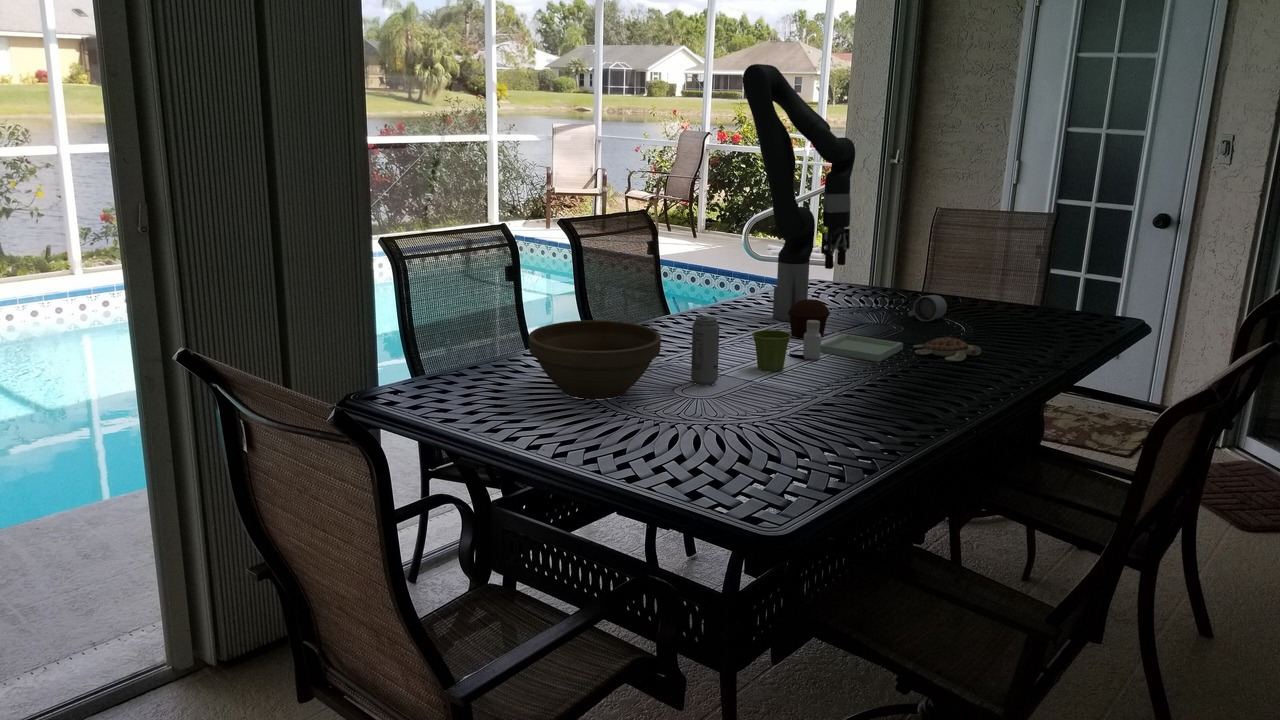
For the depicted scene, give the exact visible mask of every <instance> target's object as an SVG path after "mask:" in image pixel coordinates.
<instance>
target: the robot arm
mask: <svg viewBox="0 0 1280 720" xmlns="http://www.w3.org/2000/svg"><path fill="white" fill-rule="evenodd" d="M742 88H743V91H744V94H745V97H746V100H747V103H748V106H749V109H750V112H751V115H752V118H753V122H754V127H755V131H756V135H757V140H758V144H759V149H760V153H761V159H762V163H763V166H764V170H765V173H766V178H767V183H768V184H767V185H768V187H769V192H770V197H771V204H772V211H773V220H774V225H775V229H776V232H777V233H778V235H779V236H780V237H781V238H782V239H783V240H784V244H783V247H782V248H781V250H779V252H778V256H777V275H776V278H777V279H776V286H773V302H772V306H773V307H772V319H775V320H778V321H782V322H790V315H788V311H789V310H790V308H791V307H792V306H793V304H795V303H796V302H798V301H800V300H805V299H809V298H808V297H809V295H808V294H809V280H810V279H809V278H810V277H809V276H810V259H811V255H812V253H813V249H814V239H815V233H816V231H815V230H816V222H815V221H816V220H815V216H814V214H813V212H812V211H811V210H810V209H809V208H807V207H805V206H799V205H798V202H797V197H796V195H795V188H794V185H795V184H794V183H795V182H794V181H795V172H796V156H795V151H794V145H793V142H792V139H791V135H790V133H789V131H788V130H787V128H786V126H785V124H784V123H783V121H782V120H781V118H780V117H779V114H778V113H777V111H776V108H775V104H776V105H778V106H779V108H781V109H782V110H783V111H784V112H785V114H786V116H787V117H788V119H789V122H790V123H791V125H793V126H794V128H795V129H796V131H798V132H799V133H800V134H801V135H802V136H803V137H804V138H806V140H807V141H808V142H810V143H811V144H812V146H813V148H814V149H815V151H816V152H817V153H818V155H819V156H820V157H821V158H822V160H824V161H826V162H827V163H829V164H831V167H830V171H829V172H828V173H827V174H826V176H825V177H824V196H823V197H824V198H823V204H822V205H823V211H822V212H823V213H822V226H823V227H824V228H826V229H827V232H824V231H823V232H822V233H821V248H820V249H821V250H820V251H821V252H820V253H821V254H822V255H824V268H825V269H827V270H832V269H833V268H834V254H835V251H837V259H836V260H837V263H836V264H837V265H838V266H845V265H846V255H847V252H848V250H849V249H850V248H851V247H850V245H851V244H850V241H851V240H850V237H851V236H850V234H851V233H850V228H848V227H850V225H851V202H852V201H851V176H852V173H853V170H854V169H853V168H854V163H855V158H856V147H855V145H854V142H853V141H852V140H851V139H850V138H848V137H837V136H836V134H834V133H833V132H832V130H831V126H830V124H829V122H827V120H825V118H823V117H822V116H821V115H820V114H819V113H817V112H816V111H815V110H814V109H813V108H812V107H811V106H810V105H809V104H808V103H807V102H806V101H805V100H804V99H803V98H802V97H801V96H800V95H799V94H798V92H797V91H796V90H795V89H794V88H793V86H791V84H790V83H789V82H788V80H787V78H786V77H785V76H784V75H783V74H782V72H781V71H780V70H779V69H778V68H777V67H776V66H774V65H771V64H761V63H755V64H754V63H753V64H751V65H749V66H747V68H745V70H744V72H743V75H742ZM774 103H775V104H774Z"/></svg>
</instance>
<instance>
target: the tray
mask: <svg viewBox="0 0 1280 720" xmlns="http://www.w3.org/2000/svg"><path fill="white" fill-rule="evenodd" d="M903 349H904V342H900V341H893V340H887V339H878V338H872V337H866V336H859V335H854V334H853V335H852V334H848V333H847V334H844V335H842V336H839V337H837V338H834V339H832V340H830V341H827V342H824V343H823V344H822V343H821V348H820V353H823V354H830V355H835V354H836V356H841V355H842V356H841V357H847V356H849V357H848V358H853V357H854V358H853V359H860V360H866V361H871V362H878V363H879V362H881V361H883V360H886V359H887V358H889V357H891V356H893V355H895V354H897V353H900V352H901V351H903ZM900 350H901V351H900Z"/></svg>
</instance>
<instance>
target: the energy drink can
mask: <svg viewBox="0 0 1280 720" xmlns="http://www.w3.org/2000/svg"><path fill="white" fill-rule="evenodd" d="M691 331H692V332H691V333H692V335H691V337H692V338H691V342H692V343H691V373H690V375H691V376H690V379H691V380H692V382H693V384H694V383H696V384H699V385H698V386H700V385H711V386H713V385H712V384H714V383H715V384H716V382H717V381H718V379H719V378H718V377H719V353H720V352H719V351H720V325H719V323H718V318H717V317H714V316H711V315H710V316H708V315H707V316H706V315H704V316H703V315H702V316H696V317H695V321H694V322H693V324H692V330H691ZM696 384H695V385H696ZM715 384H714V385H715Z"/></svg>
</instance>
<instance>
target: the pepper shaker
mask: <svg viewBox="0 0 1280 720" xmlns="http://www.w3.org/2000/svg"><path fill="white" fill-rule="evenodd" d="M819 329H820V321H817V320H808V321H807V332H806V333H804V339H803V349H802V355H803V358H804V360H811V361H812V360H816V361H818V360H820V358H821V352H820V348H821V345H822V338H821V334H820V333H819Z"/></svg>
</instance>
